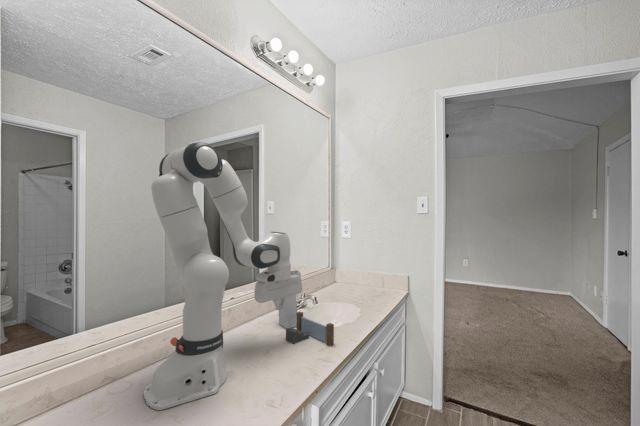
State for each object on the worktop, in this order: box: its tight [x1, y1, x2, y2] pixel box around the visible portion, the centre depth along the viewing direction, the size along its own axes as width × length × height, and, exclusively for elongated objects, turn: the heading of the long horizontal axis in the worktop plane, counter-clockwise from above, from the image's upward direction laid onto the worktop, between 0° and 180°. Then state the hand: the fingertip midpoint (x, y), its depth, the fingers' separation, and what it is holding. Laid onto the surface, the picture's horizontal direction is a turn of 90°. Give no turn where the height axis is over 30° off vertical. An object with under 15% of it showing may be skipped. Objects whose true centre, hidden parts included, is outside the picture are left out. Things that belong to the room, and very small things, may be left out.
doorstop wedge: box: [285, 327, 310, 345], centre depth 120 cm, size 8×5×5 cm, turn 133°
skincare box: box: [278, 294, 298, 330], centre depth 136 cm, size 8×6×15 cm
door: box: [301, 316, 326, 343], centre depth 123 cm, size 2×15×6 cm, turn 43°
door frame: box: [296, 311, 335, 347], centre depth 122 cm, size 2×21×8 cm, turn 43°
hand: (279, 309), depth 115 cm, fingers closed
